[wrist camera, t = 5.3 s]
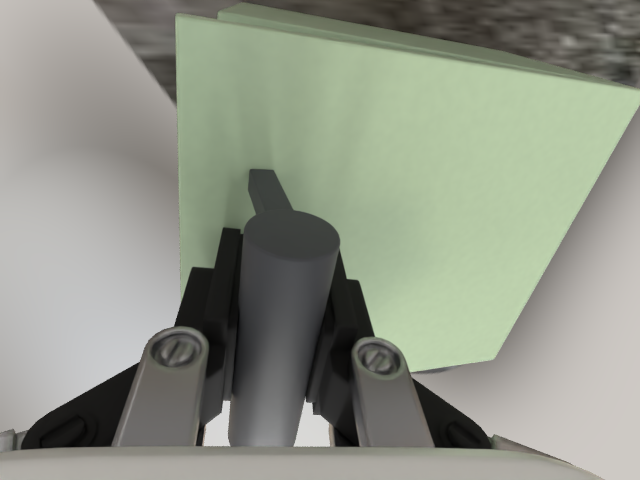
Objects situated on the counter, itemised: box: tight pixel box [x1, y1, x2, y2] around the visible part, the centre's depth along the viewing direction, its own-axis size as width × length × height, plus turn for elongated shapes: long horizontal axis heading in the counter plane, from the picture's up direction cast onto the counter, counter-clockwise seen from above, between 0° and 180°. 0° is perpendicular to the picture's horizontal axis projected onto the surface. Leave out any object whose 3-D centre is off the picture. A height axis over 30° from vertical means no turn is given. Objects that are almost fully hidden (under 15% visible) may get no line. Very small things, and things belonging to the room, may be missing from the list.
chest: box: [217, 2, 624, 85], centre depth 21 cm, size 15×14×10 cm
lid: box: [175, 13, 640, 447], centre depth 13 cm, size 15×14×5 cm
